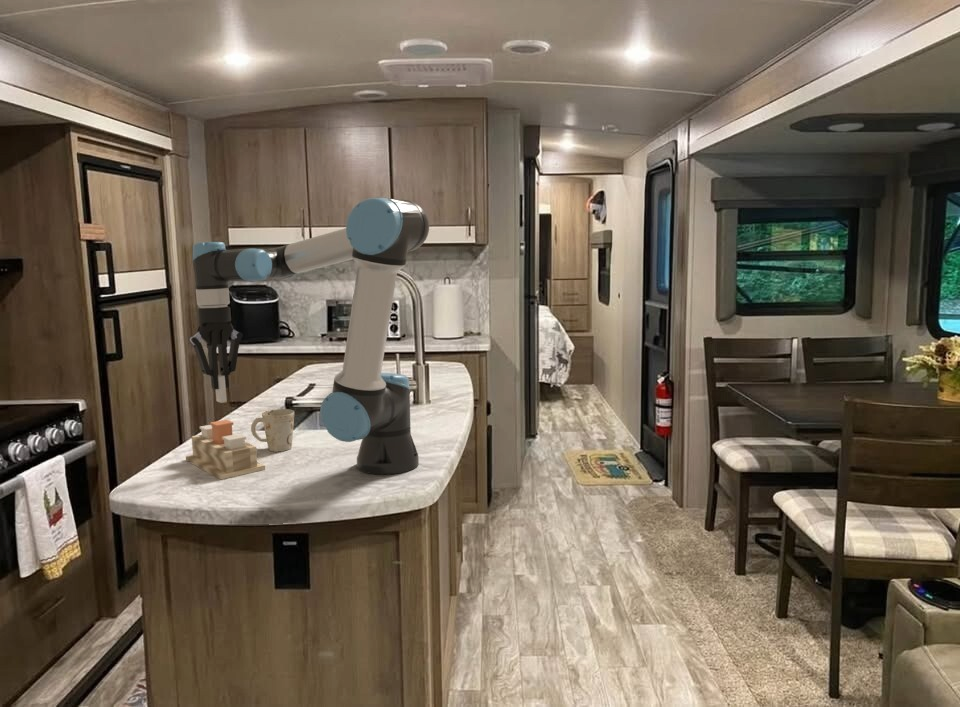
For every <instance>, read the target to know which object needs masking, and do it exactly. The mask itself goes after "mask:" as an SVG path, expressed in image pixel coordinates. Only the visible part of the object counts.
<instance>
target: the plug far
mask: <svg viewBox="0 0 960 707" xmlns="http://www.w3.org/2000/svg"><path fill="white" fill-rule="evenodd" d="M199 430H201V435H202V438H204V439H212V438H213V436H212V425H210V424H208V425H207V424H206V425H202V426H201V425H200V426H199Z"/></svg>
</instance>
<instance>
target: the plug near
mask: <svg viewBox="0 0 960 707" xmlns="http://www.w3.org/2000/svg"><path fill="white" fill-rule="evenodd" d="M222 439H223V440H224V446H225V448H226V449H228V450H235V449H240V448H245V442H246V440H247V436H246V435H245V436H244V435H243V434H240V433H235V434H232V435H229V436H224V437H222Z"/></svg>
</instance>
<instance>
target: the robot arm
mask: <svg viewBox="0 0 960 707" xmlns="http://www.w3.org/2000/svg"><path fill="white" fill-rule="evenodd" d="M429 231H430V221H429V218H428V216H427V214H426V212H425V210H424V209H423V208H422V207H421V206H420V205H419V204H417V203H416V202H414V201H411V200H407V199H397V198H387V197H381V196H379V197H371V198H367V199H363V200H361V201H360V202H359V203H357V204H356V205H354V207H353V208H352V209H351V211H350V212H349V214H348V217H347V220H346V222H345V228H341V229H338V230H335V231H332V232H331V231H330V232H328V233H327V232H326V233H324V234H321V235H318V236H314V237H310V238H306V239H303V240H299V241H296V242H292V243H290V244H286V245H283V246H279V247H275V248H274V247H271V248H254V247H253V248H250V247H249V248H241V249H240V248H238V249H226V244H225V242H222V241H204V242H203V241H202V242H200V241H199V242H196V243H194V244H193V245H192V261H191V262H192V264H193V271H194V284H195V295H196V305H197V306H198V309H197V322H198V328H197V332H196V334H194V335H193V336H190V337H188V341H189V343H190V344H191V346H193V348H194V352H195V355H196V357H197V361H198V364H199V367H200V369H201V372H202V374H203V375H205V376H206V375H207V376H209V377H210V383H211V389H213V390H215V399H216V402H218V403H220V404H222V403H227V402H228V401H227V400H228V399H227V389H228V388H229V387H230V384H229V376H230V375H231V373H233V372H235V371H236V370H237V369H236V368H237V363H238V362H237V361H238V356H239V348H240V343H241V341H242V338H243V336H244V334H243V332H239V331H237V330H236V329H234V326H233V325H232V316H231V307H230V306H228V305H230V303H231V301H230V292H229V282H249V283H252V282H262V281H265V280H274V279H275V280H276V279H290V278H293V277H295V276H297V275H298V274H301V273H305V272H309V271H314V270H317V269H322V268H325V267H328V266H332V265H336V264H339V263H343V262H347V261H351V260H353V261H354V262H355V264H356V266H357V267H356V268H357V269H356V274H355V282H354V290H353V295H352V296H353V297H352V303H351V309H350V316H349V323H348V324H349V325H348V330H347V336H346V337H347V338H346V344H345V351H344V357H343V366H342V369H341V371H340V372H338V373H337V374H336V375H335V376H334V379H333V386H332V392H331V393H330V394H328V395H327V396H325V398H324V399H323V400H322V403H321V405H320V408H319V409H320V410H319V411H320V412H319V415H320V419H321V422H322V425H323V427H324V428H326V431H327V433H328V434H329V435H330V436H331V437H333V438H334V439H336V440H338V441H341V442H343V443H344V442H346V443H351V442H356V441H360V440H361V442H360V446H359V450H358V453H357V456H356V468H357V469H358V470H359V471H360V472H363V473H367V474H373V475H392V474H393V475H394V474H400V473H401V474H402V473H405V472H409V471H412V470H414V469H415V468H417V467H419V463H420V462H419V453H418V450H417V447H416V445H415V442H414V439H413V437H412V432H411V397H410V395H411V388H410V380H409V378H408V376H407V375H406V374H401V373H392V372H391V373H389V372H382V369H383V362H384V357H385V352H386V351H385V349H386V345H387V339H388V331H389V325H390V319H391V312H392V308H393V307H392V306H393V300H394V293H395V288H396V283H397V277H398V272H399V271H401V270H402V269H403V268H405V267H406V262H407V256H408V253H409V252H413V251H415V250H417V249H419V248H420V247H421V246H422V245H423V244H424V243H425V242H426V240H427V238H428V235H429ZM230 338H231V339H230ZM229 339H230V345H229V352H228V350H227V349H228V341H229ZM202 340H203V341H204V342H205V343H206V348H207V355H208V356H207V357H208V358H207V357H206V353H205V349H204V346H203V345H202ZM218 363H219V364H218ZM219 373H220V374H219Z"/></svg>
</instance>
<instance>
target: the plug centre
mask: <svg viewBox="0 0 960 707" xmlns="http://www.w3.org/2000/svg"><path fill="white" fill-rule="evenodd" d="M209 425H212V436H213V443H215V444H217V445H220V444H224V440H223V439H222V437H224V436H229V435H233V426H234V422H233V421H230V420H229V419H221V420H216V421H212V422H209Z"/></svg>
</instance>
